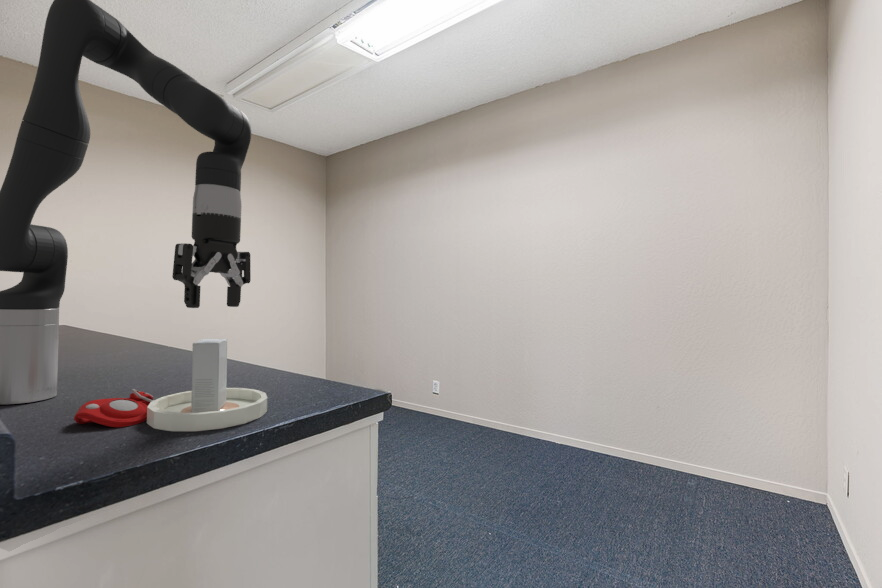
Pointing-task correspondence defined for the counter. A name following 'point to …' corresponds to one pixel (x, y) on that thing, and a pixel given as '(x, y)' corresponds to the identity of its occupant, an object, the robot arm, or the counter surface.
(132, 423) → the tracker holder
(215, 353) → the skincare box
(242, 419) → the round dish
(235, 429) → the counter surface
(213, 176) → the robot arm
